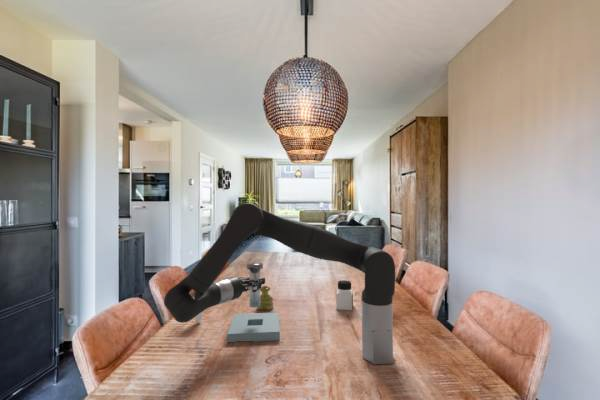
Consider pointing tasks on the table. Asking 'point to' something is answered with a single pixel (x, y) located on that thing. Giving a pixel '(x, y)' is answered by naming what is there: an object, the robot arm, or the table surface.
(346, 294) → the medicine bottle
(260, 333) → the socket board
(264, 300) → the brass weight
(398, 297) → the table surface
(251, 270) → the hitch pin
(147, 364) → the table surface
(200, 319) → the lightbulb
